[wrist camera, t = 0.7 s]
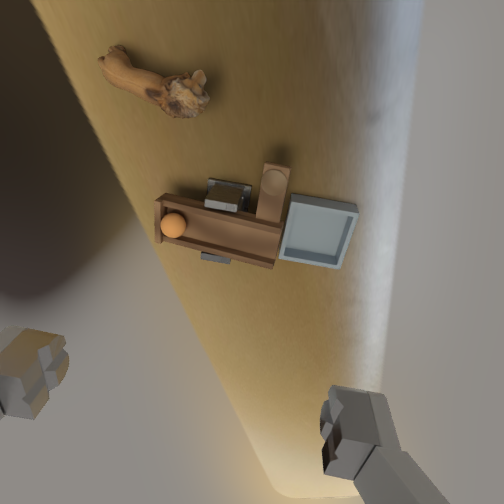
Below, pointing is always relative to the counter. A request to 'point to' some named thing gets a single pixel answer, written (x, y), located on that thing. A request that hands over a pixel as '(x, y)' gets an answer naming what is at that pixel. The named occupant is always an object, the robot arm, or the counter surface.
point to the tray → (317, 231)
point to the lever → (232, 222)
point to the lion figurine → (156, 85)
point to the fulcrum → (226, 204)
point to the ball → (173, 225)
